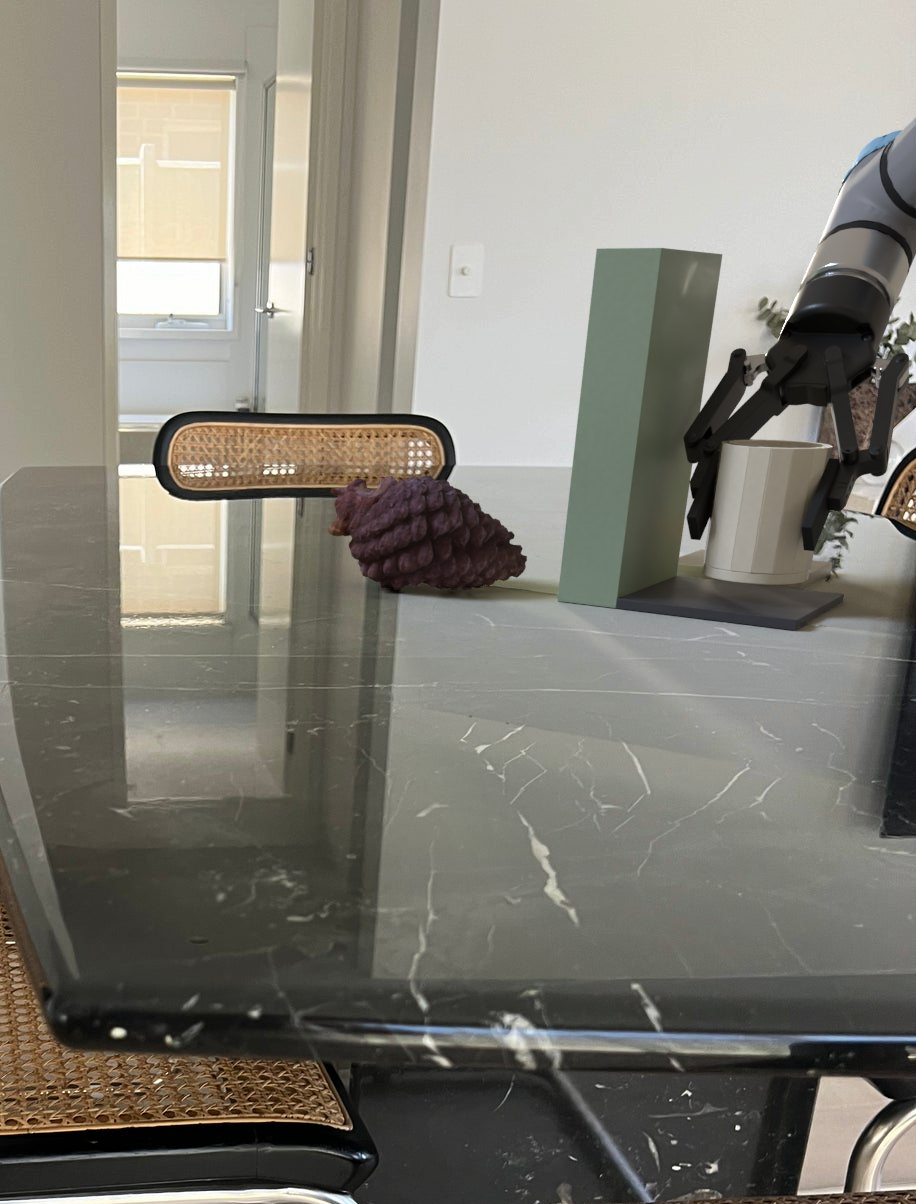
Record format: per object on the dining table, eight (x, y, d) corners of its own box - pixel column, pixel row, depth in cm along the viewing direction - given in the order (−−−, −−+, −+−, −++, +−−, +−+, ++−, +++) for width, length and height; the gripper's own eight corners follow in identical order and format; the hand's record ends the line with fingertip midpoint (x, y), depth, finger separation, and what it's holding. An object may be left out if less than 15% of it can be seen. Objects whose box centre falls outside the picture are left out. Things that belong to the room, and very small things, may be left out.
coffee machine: (842, 603, 120) (909, 252, 109) (795, 630, 110) (864, 245, 99) (620, 578, 130) (661, 254, 120) (557, 601, 120) (596, 248, 109)
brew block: (830, 575, 133) (836, 541, 132) (800, 590, 125) (806, 555, 124) (699, 562, 139) (704, 529, 138) (663, 575, 132) (667, 541, 131)
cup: (819, 574, 118) (843, 443, 114) (791, 588, 112) (816, 450, 108) (720, 564, 122) (740, 437, 118) (688, 577, 116) (708, 443, 112)
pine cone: (519, 579, 129) (555, 487, 121) (493, 653, 123) (530, 562, 115) (329, 515, 130) (353, 420, 122) (296, 585, 125) (319, 491, 117)
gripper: (982, 345, 116) (893, 579, 110) (719, 338, 127) (626, 551, 121) (986, 269, 110) (892, 513, 104) (709, 269, 121) (611, 490, 115)
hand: (749, 533), depth 113 cm, fingers closed on cup, 8 cm apart
